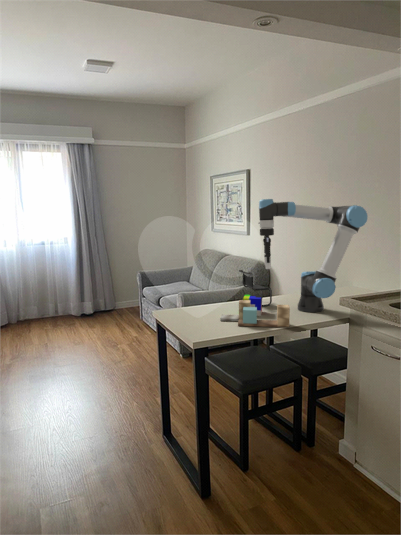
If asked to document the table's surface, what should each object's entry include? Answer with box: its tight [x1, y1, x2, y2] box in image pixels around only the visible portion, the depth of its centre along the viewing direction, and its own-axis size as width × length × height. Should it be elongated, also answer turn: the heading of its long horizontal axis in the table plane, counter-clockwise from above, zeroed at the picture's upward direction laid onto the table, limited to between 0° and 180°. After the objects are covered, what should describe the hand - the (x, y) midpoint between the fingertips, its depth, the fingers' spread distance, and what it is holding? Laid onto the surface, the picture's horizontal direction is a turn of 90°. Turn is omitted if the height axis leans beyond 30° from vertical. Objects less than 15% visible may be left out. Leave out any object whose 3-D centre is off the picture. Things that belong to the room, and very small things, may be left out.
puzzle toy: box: [242, 294, 263, 317], centre depth 231 cm, size 10×10×10 cm
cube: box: [243, 307, 258, 324], centre depth 209 cm, size 7×7×7 cm
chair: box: [238, 269, 273, 308], centre depth 252 cm, size 13×17×22 cm
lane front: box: [237, 304, 291, 328], centre depth 208 cm, size 26×8×10 cm, turn 81°
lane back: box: [219, 299, 250, 322], centre depth 219 cm, size 16×8×10 cm, turn 81°
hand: (267, 267), depth 219 cm, fingers open, 13 cm apart
